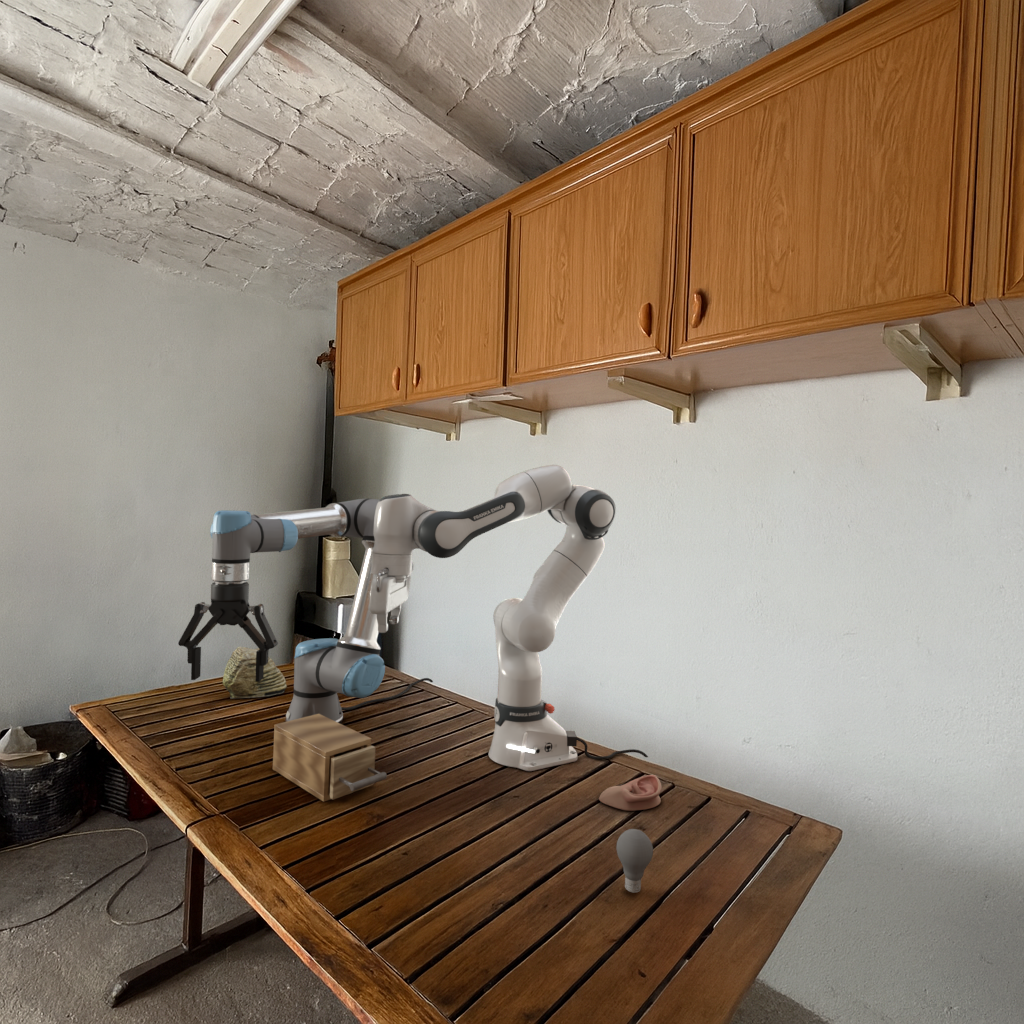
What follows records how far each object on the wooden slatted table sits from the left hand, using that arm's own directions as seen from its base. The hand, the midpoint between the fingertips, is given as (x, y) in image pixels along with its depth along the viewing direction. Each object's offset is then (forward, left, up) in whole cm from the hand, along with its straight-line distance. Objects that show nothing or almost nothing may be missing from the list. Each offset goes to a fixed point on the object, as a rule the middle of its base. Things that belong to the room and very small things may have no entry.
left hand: (227, 679), depth 137 cm
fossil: (-36, -51, -23) cm, 67 cm away
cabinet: (-16, +12, -23) cm, 30 cm away
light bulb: (-27, +85, -23) cm, 92 cm away
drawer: (-16, +18, -22) cm, 32 cm away
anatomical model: (-56, +69, -23) cm, 92 cm away
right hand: (-24, +24, +12) cm, 36 cm away
